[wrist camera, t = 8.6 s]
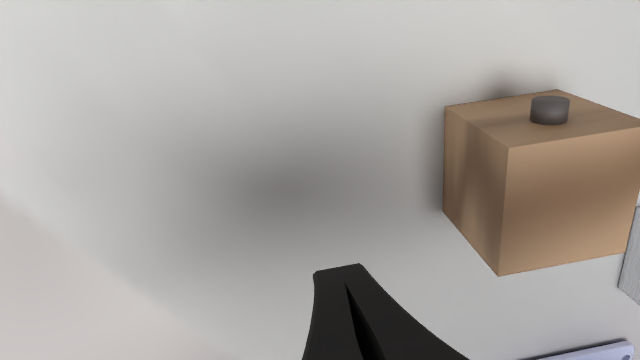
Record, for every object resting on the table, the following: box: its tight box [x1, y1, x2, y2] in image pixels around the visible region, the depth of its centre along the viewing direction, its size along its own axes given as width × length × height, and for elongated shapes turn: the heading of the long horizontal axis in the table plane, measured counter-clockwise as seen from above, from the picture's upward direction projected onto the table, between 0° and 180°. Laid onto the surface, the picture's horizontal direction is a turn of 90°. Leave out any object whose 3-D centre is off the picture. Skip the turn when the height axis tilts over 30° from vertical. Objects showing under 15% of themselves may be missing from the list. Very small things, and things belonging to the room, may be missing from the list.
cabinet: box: [443, 90, 640, 277], centre depth 17 cm, size 6×5×5 cm
